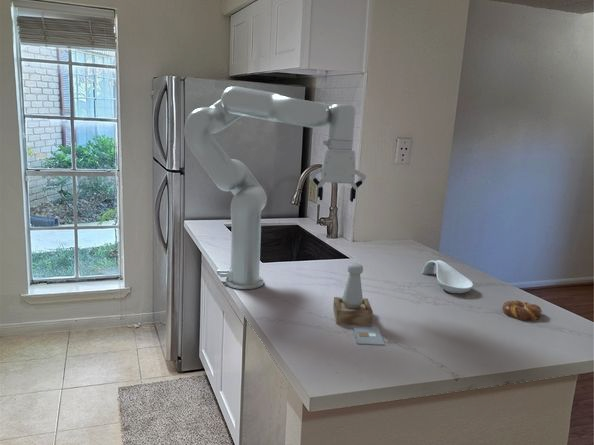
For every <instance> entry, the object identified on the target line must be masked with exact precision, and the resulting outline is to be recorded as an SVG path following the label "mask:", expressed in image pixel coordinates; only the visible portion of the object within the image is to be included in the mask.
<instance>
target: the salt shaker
mask: <svg viewBox="0 0 594 445" xmlns="http://www.w3.org/2000/svg"><path fill="white" fill-rule="evenodd" d="M363 271H364V266H363V265H362V264H361V263H354V262H352V263H350V264H348V266H347V272H348V276H347V280H346V284H345V288H344V292H343V295H342V297H343V298H342V299H343V303H344V306H345V307H346V308H347V309H355V310H358V309H359V307H360V306H361V304H362V302H363V298H364V297H363V288H362V278H361V274H363Z"/></svg>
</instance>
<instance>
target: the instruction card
mask: <svg viewBox="0 0 594 445" xmlns="http://www.w3.org/2000/svg"><path fill="white" fill-rule="evenodd" d="M352 329H353V332H354V336H355V339H356V343H357V345H369V346H371V345H373V346H374V345H375V346H385V345H386V344H385V342H384V339H383V336H382V334H381V331H380V329H379V327H375V326H374V327H371V326H355V325H354V326H352Z"/></svg>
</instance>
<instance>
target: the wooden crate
mask: <svg viewBox="0 0 594 445" xmlns="http://www.w3.org/2000/svg"><path fill="white" fill-rule="evenodd" d="M342 298H343V296H342V297H341V296H334V297H333V305H332V306H333V307H332V309H333V310H332V311H333V315H334V320H335V324H338V325H354V326H355V325H360V326H372V324H373V314H374V312H373V308H372V307H371V304H370V301H369V298H364V297H363V302H362V304H361V306H360V307H359V309H358V310H355V309H347V308H346V307H345V306H344V303H343V299H342Z"/></svg>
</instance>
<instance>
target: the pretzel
mask: <svg viewBox="0 0 594 445" xmlns="http://www.w3.org/2000/svg"><path fill="white" fill-rule="evenodd" d="M501 308H502V311H503V313H504V314H505V315H506V316H507V317H510V318H514V319H518V320H519V321H523V322H529V321H530V322H531V321H532V319H533V321H535V320H539V319H540V318H541V316H542V312H543V311H542V308H541V307H540V306H539V305H537V304H535V303H534V304H533V303H532V304H531V303H530V302H525V301H524V302H523V301H520V300H508V301H505V302H504V303H503V305H502V307H501ZM534 319H535V320H534Z"/></svg>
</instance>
